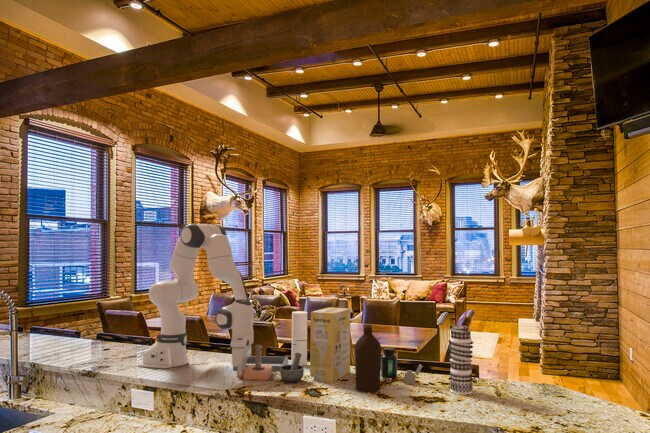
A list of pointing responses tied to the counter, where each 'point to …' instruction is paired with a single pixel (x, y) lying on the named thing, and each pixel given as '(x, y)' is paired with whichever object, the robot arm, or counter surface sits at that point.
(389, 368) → the supplement bottle
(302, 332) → the cylindrical container
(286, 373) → the mortar and pestle
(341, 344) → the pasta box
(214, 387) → the counter surface
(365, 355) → the olive oil
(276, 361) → the tray
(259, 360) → the stake stand
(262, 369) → the ring
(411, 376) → the lighter
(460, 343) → the grey banded cylinder
